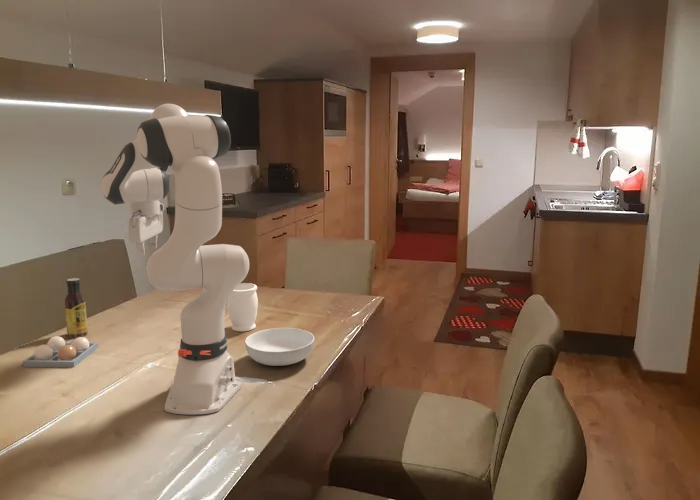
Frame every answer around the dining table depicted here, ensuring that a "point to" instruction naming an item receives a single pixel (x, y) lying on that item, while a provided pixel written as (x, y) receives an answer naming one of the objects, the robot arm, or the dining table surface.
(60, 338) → the white egg
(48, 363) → the egg tray
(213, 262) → the robot arm
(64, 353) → the brown egg
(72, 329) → the sauce bottle
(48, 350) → the white egg
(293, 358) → the serving bowl
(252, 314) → the jar
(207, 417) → the dining table surface
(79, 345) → the white egg
